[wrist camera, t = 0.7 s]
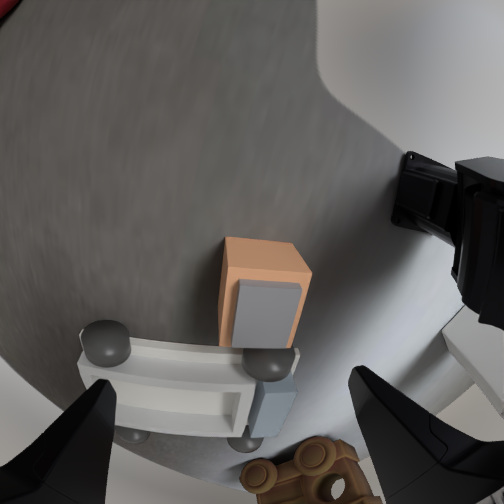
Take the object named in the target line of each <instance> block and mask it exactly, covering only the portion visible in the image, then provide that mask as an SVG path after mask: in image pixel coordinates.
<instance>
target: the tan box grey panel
mask: <svg viewBox="0 0 504 504" xmlns="http://www.w3.org/2000/svg"><path fill="white" fill-rule="evenodd" d="M311 276H312V272H311V270H310V269H309V267H308V266H307V264H306V263H305V262H304V260H303V259H302V257H301V256H300V254H299V253H298V251H297V250H296V248H295V247H294V245H293V244H292V243H285V242H276V241H266V240H256V239H246V238H235V237H225V246H224V254H223V263H222V272H221V281H220V290H219V300H218V326H219V346H222V347H233V348H291V345H292V342H293V339H294V336H295V332H296V329H297V326H298V322H299V319H300V316H301V312H302V309H303V305H304V302H305V298H306V295H307V291H308V288H309V284H310V280H311Z"/></svg>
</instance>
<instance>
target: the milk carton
mask: <svg viewBox="0 0 504 504" xmlns="http://www.w3.org/2000/svg"><path fill="white" fill-rule="evenodd" d="M478 318H479V315H478V314H476V313H475V312H473V311H472V310H470V309H469V308H468V307H467V306H466V305H465V306H464V307H463V308H462V309H461V310H460V312H459V313H458V314H457V315H456V316H455V317H454V318H453V319H452V320H451V321H450V322H449V323H448V324H447V325H446V326H445V327H444V328H443V329H442V333H443V336H444V339H445V341H446V344H447V347H448V350H449V352H450V353H451V354H452V355H453V356H454V357H455V359H456V360H457V361H458V362H459V363H460V365H461V366H462V367H463V368H464V369H465V371H466V372H467V373H468V374H469V376H470V377H471V378H472V379H473V380H474V382H475V383H476V384H477V386H478V387H479V388H480V389H481V391H482V392H483V393H484V395H485V396H486V397H487V398H488V400H489V401H490V402H491V404H492V405H493V407H494V408H495V409H496V411H497V412H498V413H499V415H500V416H501V417H502V418H503V419H504V331H503V330H501V329H499V328H497V327H494V326H492V325H487V324H481V323H479V322H478Z"/></svg>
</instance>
